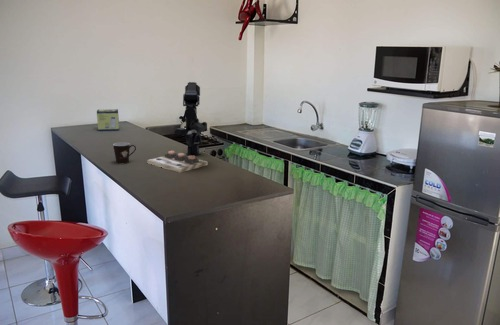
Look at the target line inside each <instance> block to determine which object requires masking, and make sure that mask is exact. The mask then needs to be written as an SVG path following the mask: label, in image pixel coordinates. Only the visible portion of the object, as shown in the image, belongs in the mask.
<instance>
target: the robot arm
mask: <svg viewBox="0 0 500 325" xmlns="http://www.w3.org/2000/svg"><path fill="white" fill-rule="evenodd" d="M184 89H185V90H184V94H183V97H182V99H183V100H182V106H183V107H185V111H184V114H183V115H184V117H185V118H183V121H185V125H184V126H183V127H179V128H175V129H174V134H175V135H179V136H184V138H185V145H186V146H187V152H186V153H185V155H187V156H190V155H194V156H195V157H196V156H198V155H201V154H202V153H201V152H200V146H201V145H202V144H203V143H202V136H201V133H204V132H208V122H206V121H202V122H200V119H199V118H197V117H198V114H197V113H198V111H197V110H198V109H197V107H199V105H200V96H201V86H200V85H198V83H197V82H195V81H192V82H191V81H189V82H187V85H186V86H184Z"/></svg>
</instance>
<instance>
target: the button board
mask: <svg viewBox="0 0 500 325" xmlns="http://www.w3.org/2000/svg"><path fill="white" fill-rule="evenodd" d="M188 156H189V155H185V157H183V158H179V157H178V153H176V152H175V155H168V153H165V154H164V155H163V156H159V157H154V158H150V159H147V160H146V164H147V163H148V165H151V164H152V166H154V165H155V167H158V168H161V167H162V169H165V170H168V171H173V172H176V173H179V174H180V173H184V172H188V171H191V170H195V169H199V168H201V167H202V168H203V167H205V166H208V164H209V163H208V161H207V160H203V159H199V158H197V157H195V160H192V161H191V160H188Z"/></svg>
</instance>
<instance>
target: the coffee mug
mask: <svg viewBox="0 0 500 325" xmlns="http://www.w3.org/2000/svg"><path fill="white" fill-rule="evenodd" d="M112 146H113V151H114V157H115V158H114V159H115V162H117V163H116V164H119V163H124V164H128V163H129V160H130V156H131V155H133V154H134V153H135V151H136V150H137V147H136V145H134V144H130V143H129V142H115V143H113V144H112ZM132 147H134V150H133V151H132V152H131V153H130V149H131V148H132ZM127 162H128V163H127Z"/></svg>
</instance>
